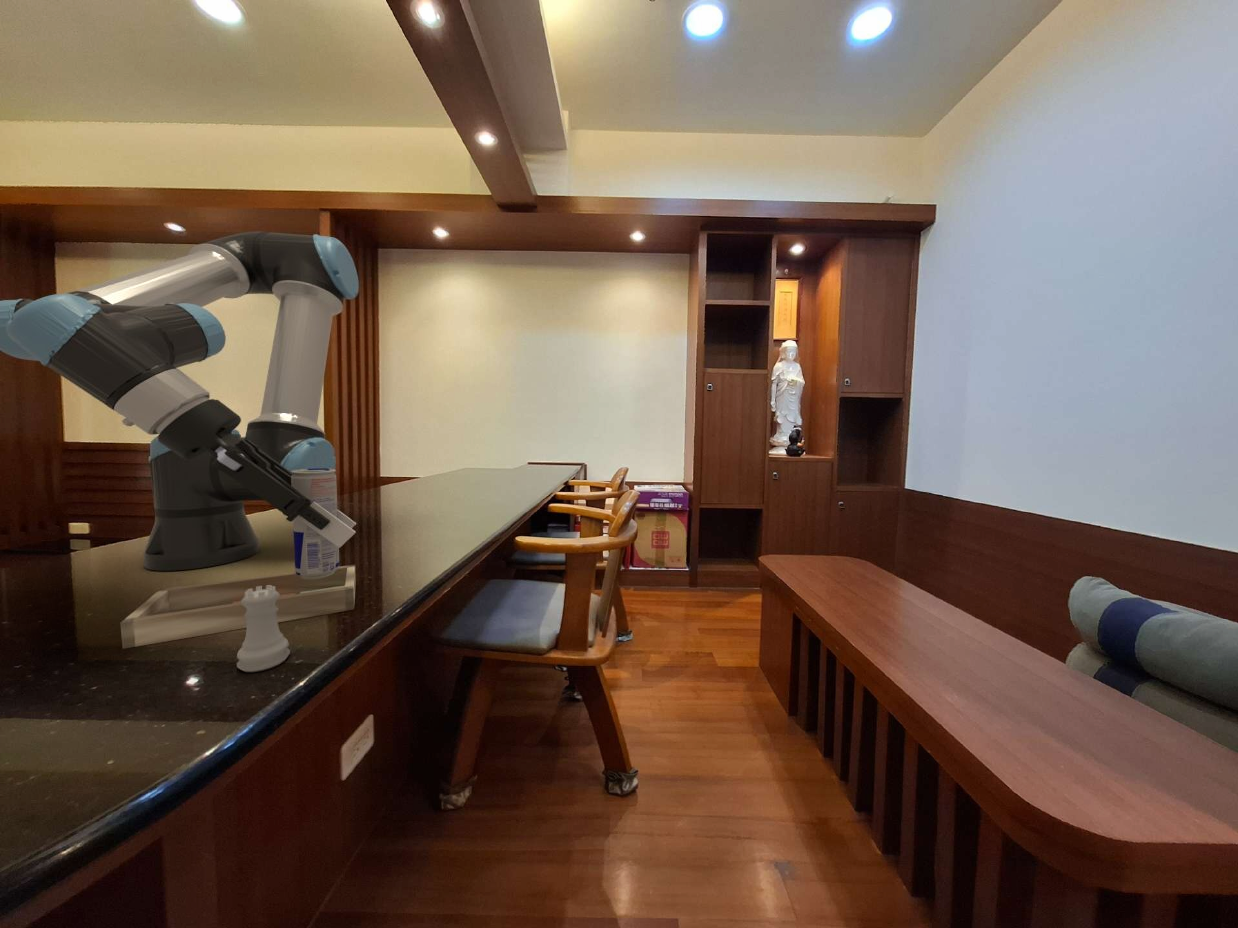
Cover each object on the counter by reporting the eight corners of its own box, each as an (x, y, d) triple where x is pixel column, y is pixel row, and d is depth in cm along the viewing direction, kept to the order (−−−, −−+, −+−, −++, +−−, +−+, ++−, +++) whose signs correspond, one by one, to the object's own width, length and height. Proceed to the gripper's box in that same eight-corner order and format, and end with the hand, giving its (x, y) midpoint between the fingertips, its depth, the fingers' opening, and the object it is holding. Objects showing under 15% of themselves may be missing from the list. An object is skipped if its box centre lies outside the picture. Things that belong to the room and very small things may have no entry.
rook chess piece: (260, 676, 44) (255, 600, 43) (224, 670, 44) (219, 595, 44) (301, 653, 48) (297, 583, 47) (268, 648, 49) (264, 580, 48)
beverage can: (334, 566, 65) (331, 466, 63) (343, 575, 61) (339, 469, 60) (292, 573, 61) (287, 468, 60) (298, 583, 57) (294, 471, 56)
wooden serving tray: (162, 610, 58) (160, 589, 57) (355, 582, 69) (354, 564, 68) (122, 648, 48) (120, 622, 48) (354, 609, 59) (353, 588, 59)
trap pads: (233, 603, 60) (233, 601, 60) (295, 594, 64) (295, 592, 64) (215, 628, 53) (215, 626, 53) (287, 617, 57) (287, 614, 57)
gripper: (183, 436, 59) (331, 540, 69) (118, 441, 44) (321, 574, 54) (231, 399, 62) (368, 505, 71) (187, 391, 46) (369, 528, 56)
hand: (348, 534), depth 62 cm, fingers closed on beverage can, 5 cm apart
